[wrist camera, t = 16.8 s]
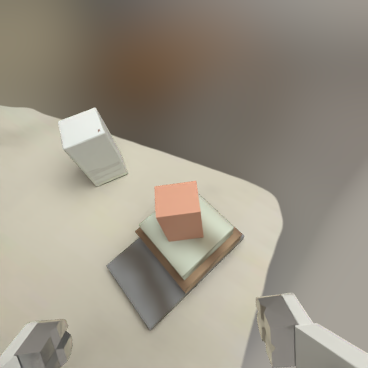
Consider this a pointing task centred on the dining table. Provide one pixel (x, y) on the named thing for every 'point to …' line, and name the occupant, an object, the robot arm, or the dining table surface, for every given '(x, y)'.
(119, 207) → the dining table surface
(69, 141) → the supplement box
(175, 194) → the block
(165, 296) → the build plinth
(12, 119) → the dining table surface
